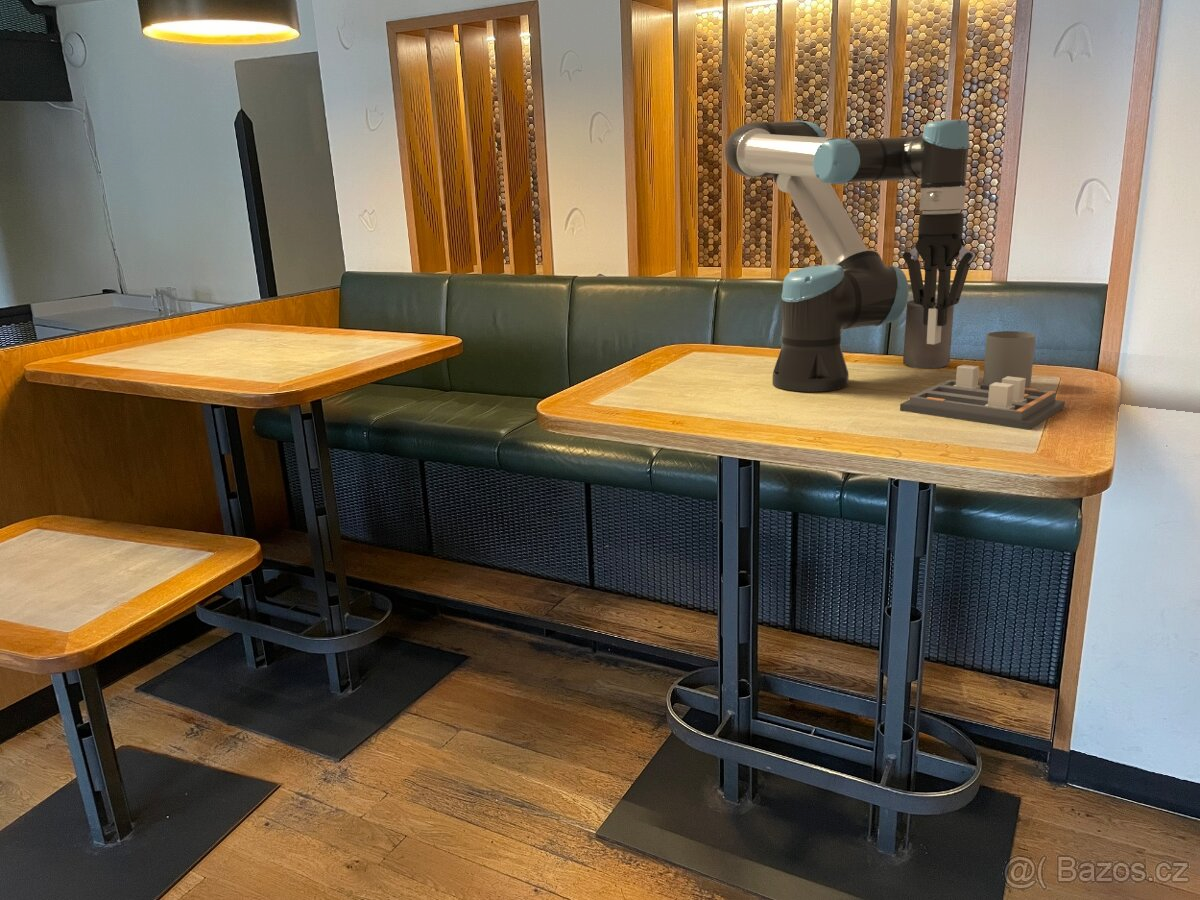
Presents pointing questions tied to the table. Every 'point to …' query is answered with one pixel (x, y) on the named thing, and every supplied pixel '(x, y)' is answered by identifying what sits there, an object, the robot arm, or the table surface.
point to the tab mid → (1016, 387)
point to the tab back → (967, 376)
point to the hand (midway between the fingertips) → (933, 342)
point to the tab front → (1001, 395)
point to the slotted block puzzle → (983, 405)
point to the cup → (1008, 356)
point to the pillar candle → (925, 340)
